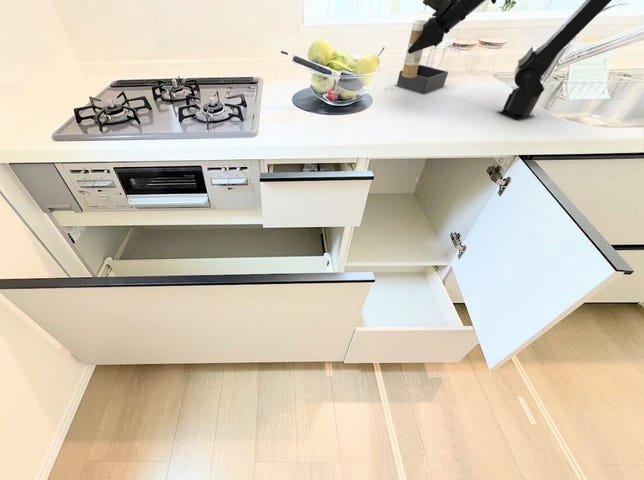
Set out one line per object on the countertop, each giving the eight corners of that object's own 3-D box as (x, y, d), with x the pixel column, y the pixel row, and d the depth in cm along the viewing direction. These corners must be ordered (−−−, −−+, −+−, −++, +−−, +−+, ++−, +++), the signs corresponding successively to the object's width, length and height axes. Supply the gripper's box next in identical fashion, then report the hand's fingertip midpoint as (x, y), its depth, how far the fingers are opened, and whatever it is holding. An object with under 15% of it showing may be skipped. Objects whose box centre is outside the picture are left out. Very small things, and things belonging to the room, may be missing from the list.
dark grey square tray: (443, 86, 112) (448, 71, 109) (423, 94, 108) (428, 78, 104) (416, 78, 118) (420, 64, 115) (396, 85, 114) (399, 71, 111)
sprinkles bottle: (412, 73, 102) (426, 19, 92) (418, 77, 99) (433, 22, 89) (398, 74, 102) (410, 20, 92) (404, 78, 98) (417, 23, 89)
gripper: (453, -31, 87) (401, 19, 99) (445, -24, 76) (387, 32, 88) (473, 7, 91) (420, 51, 102) (468, 20, 79) (409, 68, 91)
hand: (409, 50), depth 96 cm, fingers closed on sprinkles bottle, 4 cm apart
